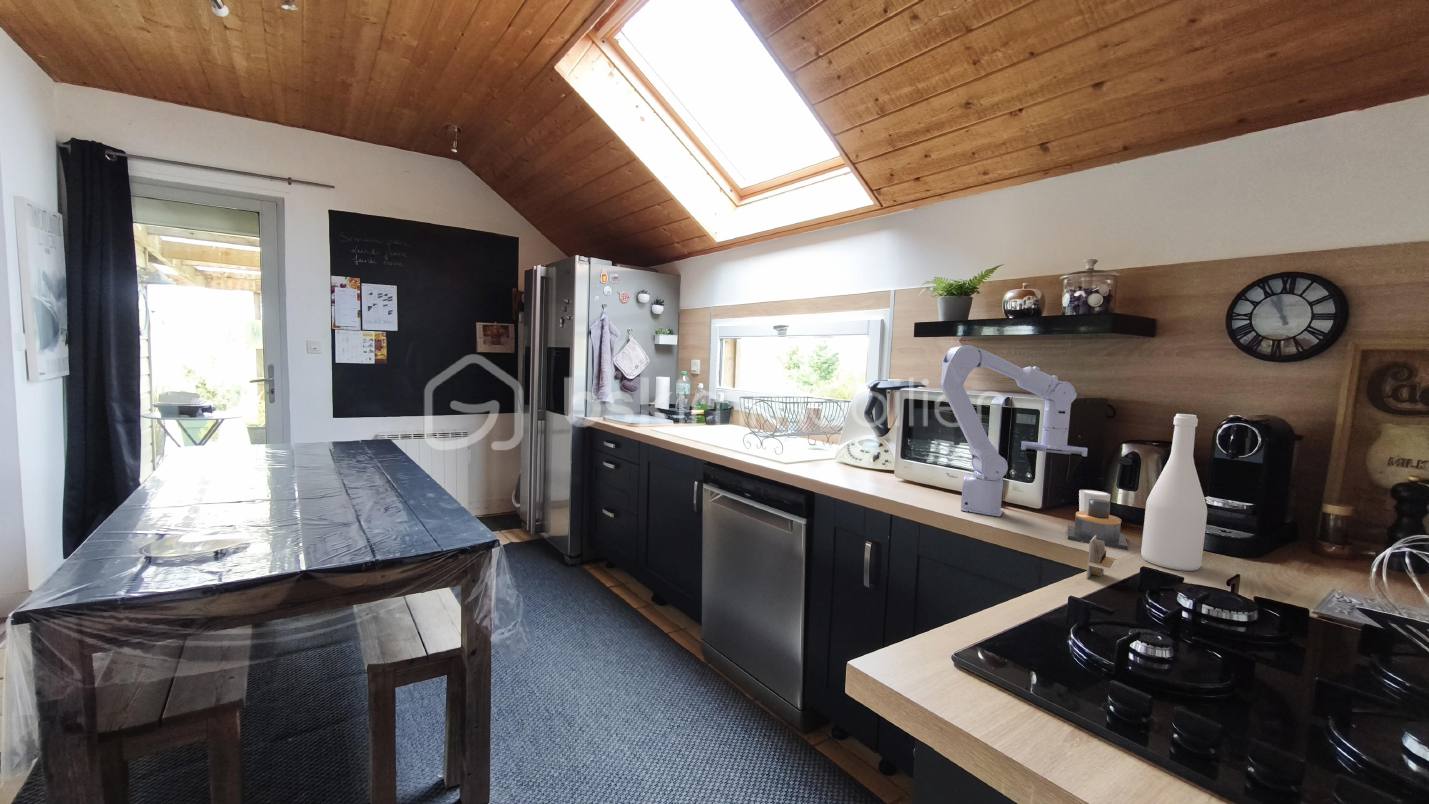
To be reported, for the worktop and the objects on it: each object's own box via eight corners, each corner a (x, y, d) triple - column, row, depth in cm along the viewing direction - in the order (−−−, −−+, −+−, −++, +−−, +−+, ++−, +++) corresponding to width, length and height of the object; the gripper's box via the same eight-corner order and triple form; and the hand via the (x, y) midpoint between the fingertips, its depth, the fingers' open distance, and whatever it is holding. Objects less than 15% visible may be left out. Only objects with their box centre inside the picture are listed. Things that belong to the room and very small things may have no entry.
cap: (1074, 531, 131) (1077, 501, 130) (1074, 522, 138) (1076, 494, 137) (1121, 538, 126) (1124, 508, 126) (1118, 529, 134) (1121, 500, 133)
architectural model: (1113, 578, 108) (1117, 539, 107) (1107, 588, 103) (1111, 547, 102) (1091, 573, 110) (1095, 534, 109) (1084, 583, 105) (1088, 542, 104)
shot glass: (1098, 516, 153) (1101, 490, 153) (1114, 523, 147) (1116, 496, 146) (1071, 514, 154) (1073, 488, 153) (1085, 521, 147) (1087, 494, 147)
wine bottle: (1173, 572, 111) (1190, 416, 109) (1128, 555, 120) (1144, 411, 118) (1213, 571, 113) (1231, 417, 111) (1166, 555, 122) (1182, 412, 120)
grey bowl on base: (1067, 539, 130) (1069, 520, 130) (1067, 528, 140) (1069, 510, 139) (1127, 549, 125) (1129, 529, 124) (1123, 537, 134) (1125, 519, 134)
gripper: (1022, 426, 149) (1017, 478, 150) (1089, 432, 141) (1084, 487, 142) (1024, 424, 155) (1019, 474, 156) (1088, 429, 147) (1083, 482, 148)
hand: (1050, 480), depth 150 cm, fingers open, 7 cm apart
